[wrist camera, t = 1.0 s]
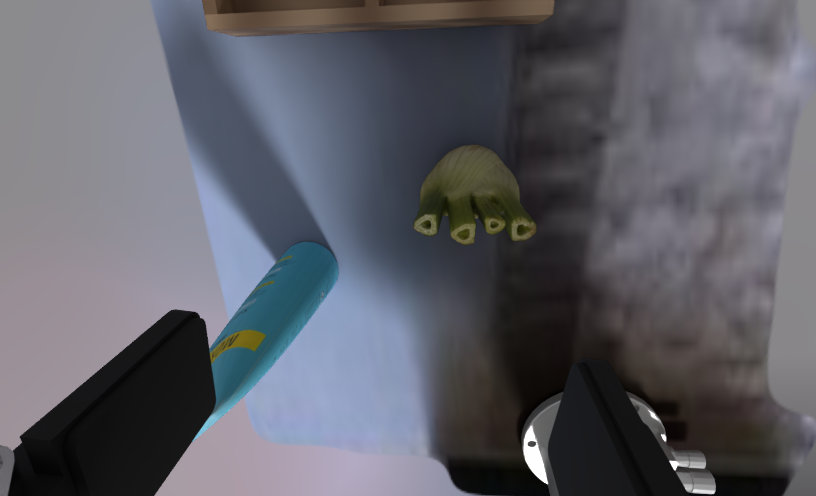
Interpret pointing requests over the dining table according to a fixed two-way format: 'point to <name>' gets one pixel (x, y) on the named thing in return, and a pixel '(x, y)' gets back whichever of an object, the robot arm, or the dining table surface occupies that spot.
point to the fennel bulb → (472, 197)
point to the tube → (269, 322)
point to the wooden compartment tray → (365, 15)
